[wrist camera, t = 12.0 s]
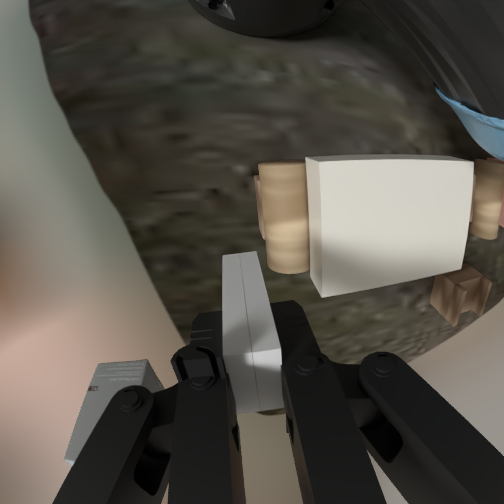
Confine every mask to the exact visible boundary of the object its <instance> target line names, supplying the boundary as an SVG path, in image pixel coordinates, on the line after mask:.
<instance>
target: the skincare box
mask: <svg viewBox="0 0 504 504" xmlns="http://www.w3.org/2000/svg"><path fill="white" fill-rule="evenodd" d="M131 385H140V386H143V387H146V388H147V389H148V390H149V391H150V392H151V393H154V392H158V391H161V390H164V387H163V385H162V384H161V382H160V380H159V379H158V377H157V376H156V374H155V372H154V370H153V369H152V367H151V365H150V363H149V361H148V360H147V359H145V360H139V361H127V362H113V363H101V364H98V365H97V368H96V370H95V373H94V375H93V378H92V381H91V383H90V385H89V388H88V391H87V393H86V396H85V398H84V401H83V404H82V407H81V410H80V412H79V415H78V418H77V421H76V424H75V427H74V430H73V433H72V436H71V439H70V442H69V445H68V448H67V451H66V455H65V458H64V460H65V461H66V462H67V463H69V464H70V465H71V466H73V464H74V462H75V460H76V459H77V457H78V455H79V453H80V452H81V450H82V448H83V446H84V444H85V443H86V441H87V439H88V437H89V436H90V434H91V432H92V431H93V429H94V427H95V425H96V424H97V422H98V420H99V419H100V417H101V415H102V414H103V412H104V410H105V408H106V407H107V405H108V403H109V402H110V400H111V398H112V397H113V396H114V395H115V394H116V392H117V391H119V390H121V389H122V388H124V387H127V386H131Z"/></svg>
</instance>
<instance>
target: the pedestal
mask: <svg viewBox="0 0 504 504" xmlns="http://www.w3.org/2000/svg"><path fill="white" fill-rule="evenodd" d="M491 285H492V282H491V281H490V280H489V279H487V278H486V277H485V276H484V275H482V274H481V273H480V272H478V271H477V270H476V269H474V268H473V267H472V266H470V265H469V264H467V263H463V264H462V267H461V269H459V270H455V271H451V272H447V273H442V274H438V275H435V279H434V284H433V288H432V293H431V298H430V302H429V303H430V304H431V305H432V306H433V307H434V308H435V309H436V310H437V311H438V312H439V313H440V314H441V315H442V316H443V317H444V318H445V319H446V320H447V321H448V322H449V323H450V324H451V325H452V326H456V325H457V323H458V320H459V317H460V313H463V312H466V311H469V310H471V309H472V310H473V311H474V312H475V313H476V314H477V315H478V316H481V315H482V314H483V311H484V308H485V305H486V302H487V299H488V296H489V292H490V289H491Z"/></svg>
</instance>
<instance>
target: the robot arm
mask: <svg viewBox="0 0 504 504" xmlns="http://www.w3.org/2000/svg"><path fill="white" fill-rule="evenodd" d="M188 1H189V2H190V4H191V5H192V6H193V8H194V9H195V10H196V11H197V12H198V13H199V14H201V15H202V16H203V17H204V18H206V19H207V20H209V21H210V22H212V23H214V24H216V25H218V26H220V27H222V28H225V29H227V30H230V31H233V32H237V33H240V34H245V35H251V36H259V37H281V36H289V35H294V34H298V33H301V32H304V31H307V30H310V29H312V28H314V27H316V26H318V25H319V24H321V23H322V22H323V21H325V20H326V19H327V18H328V17H329V16H330V15H331V14H332V13H333V12H334V11H335V10H336V9H337V8H338V7H339V5H340V4H341V2H342V1H343V0H188ZM360 1H361V2H362V3H363V4H364V5H365V6H367V7H368V8H369V9H370V10H371V11H372V12H373V13H374V14H375V15H376V16H377V17H378V18H379V19H380V20H381V21H382V22H383V23H384V24H385V25H386V26H387V27H388V28H389V29H390V30H391V31H392V32H393V33H394V34H395V35H396V36H397V37H398V39H399V40H400V41H401V42H402V43H403V44H404V45H405V46H406V48H407V49H408V50H409V51H410V52H411V53H412V55H413V56H414V57H415V58H416V59H417V61H418V62H419V63H420V64H421V66H422V67H423V68H424V69H425V71H426V72H427V73H428V75H429V76H430V77H431V79H432V80H433V84H434V86H435V89H436V91H437V93H438V94H439V96H440V97H441V98H442V99H443V100H444V101H445V102H446V103H448V104H449V105H450V106H451V107H452V109H453V110H454V112H455V113H456V115H457V116H458V117H459V119H460V120H461V122H462V123H463V125H464V126H465V128H466V130H467V131H468V133H469V134H470V135H471V137H472V138H473V139H474V140H475V141H476V142H477V143H478V144H479V145H480V146H481V147H482V148H483V149H484V150H485V151H487V152H488V153H489V154H491V155H492V156H494V157H496V158H497V159H500V160H502V161H504V0H360ZM240 261H241V263H240ZM241 269H242V270H241ZM242 277H243V278H242ZM191 332H192V333H191V338H190V340H191V341H190V345H187V346H185V347H183V348H181V349H179V350H178V351H177V352H176V353H175V354H174V355H173V357H172V359H171V364H172V366H173V369H174V371H175V374H176V376H177V379H178V383H177V384H175V385H174V386H172V387H170V388H167V389H164V390H161V391H158V392H154V393H151V392H150V391H149V390H148V389H147V388H146V387H143V386H140V385H131V386H127V387H124V388H122V389H121V390H119V391H117V392H116V394H115V395H114V396H113V397H112V398H111V400H110V402H109V403H108V405H107V407H106V408H105V410H104V412H103V414H102V415H101V417H100V419H99V420H98V422H97V424H96V425H95V427H94V429H93V431H92V432H91V434H90V436H89V437H88V439H87V441H86V443H85V444H84V446H83V448H82V450H81V452H80V453H79V455H78V457H77V459H76V460H75V462H74V464H73V466H72V468H71V470H70V472H69V473H68V475H67V477H66V479H65V481H64V482H63V484H62V486H61V488H60V490H59V492H58V494H57V496H56V498H55V499H54V501H53V503H52V504H161V502H162V499H163V497H164V494H165V491H166V488H167V485H168V483H169V489H168V490H169V491H168V504H246V498H245V488H244V478H243V469H242V468H243V467H242V456H241V445H240V433H239V426H238V422H237V415H236V411H237V414H240V413H248V412H257V411H260V408H261V411H265V410H272V409H278V408H284V406H285V411H286V428H287V433H289V437H290V442H291V446H292V452H293V457H294V461H295V466H296V471H297V476H298V481H299V485H300V490H301V495H302V500H303V504H387V503H386V501H385V498H384V495H383V492H382V490H381V487H380V484H379V482H378V479H377V476H376V473H375V471H374V468H373V465H372V463H371V460H370V458H369V455H368V452H369V453H370V454H371V456H372V457H373V458H374V460H375V461H376V462H377V463H378V465H379V466H380V467H381V469H382V470H383V471H384V473H385V474H386V475H387V477H388V478H389V479H390V480H391V482H392V483H393V484H394V486H395V487H396V488H397V489H398V491H399V492H400V493H401V495H402V496H403V497H404V498H405V500H406V501H407V502H408V503H409V504H504V456H503V455H502V454H501V453H500V452H499V451H498V450H497V449H496V448H495V447H494V446H493V445H492V444H491V443H490V442H489V441H488V440H487V439H486V438H485V437H484V436H483V435H482V434H481V433H480V432H479V431H478V430H476V429H475V428H474V427H473V426H472V425H471V424H470V423H469V422H468V421H467V420H466V419H465V418H464V417H463V416H462V415H461V414H460V413H459V412H458V411H457V410H456V409H455V408H454V407H452V406H451V405H450V404H449V403H448V402H447V401H446V400H445V399H444V398H443V397H442V396H441V395H440V394H439V393H438V392H437V391H436V390H435V389H433V388H432V387H431V386H430V385H429V384H428V383H427V382H426V381H425V380H424V379H423V378H422V377H420V376H419V375H418V374H417V373H416V372H415V371H414V370H413V369H412V368H411V367H410V366H409V365H408V364H407V363H405V362H404V361H403V360H402V359H401V358H400V357H398V356H397V355H395V354H393V353H389V352H375V353H372V354H369V355H368V356H366V357H365V358H364V359H363V361H362V363H361V364H360V365H357V364H339V363H336V362H332V361H330V360H329V358H328V357H327V356H326V355H324V354H322V353H321V351H320V349H319V347H318V344H317V342H316V339H315V337H314V334H313V332H312V330H311V327H310V325H309V322H308V320H307V317H306V315H305V313H304V310H303V308H302V306H300V305H299V304H298V303H297V302H295V301H294V300H290V301H283V302H277V303H269V299H268V295H267V292H266V288H265V284H264V280H263V276H262V272H261V268H260V264H259V260H258V257H257V253H256V251H254V252H246V253H240V255H239V254H231V255H223V281H222V311H215V312H206V313H199V314H198V315H197V317H196V318H195V319H194V321H193V323H192V330H191ZM257 389H258V390H257ZM258 395H259V397H258ZM259 402H260V404H259ZM366 449H367V450H368V452H367V450H366Z"/></svg>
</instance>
